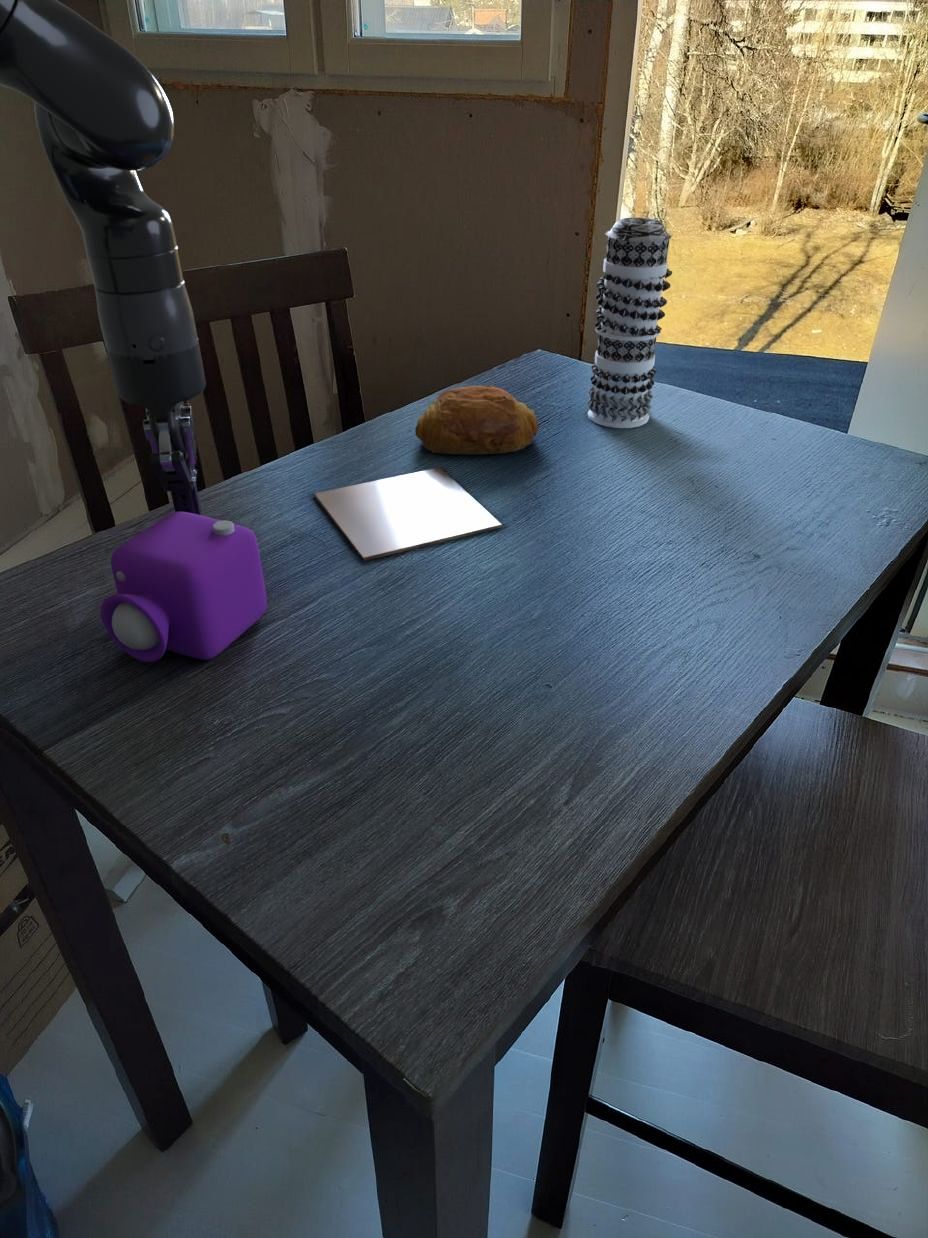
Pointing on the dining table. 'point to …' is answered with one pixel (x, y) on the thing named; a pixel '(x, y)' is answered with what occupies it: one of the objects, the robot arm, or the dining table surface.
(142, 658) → the toy camera
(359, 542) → the square metal plate
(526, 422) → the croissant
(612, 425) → the decorative candle
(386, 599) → the dining table surface
